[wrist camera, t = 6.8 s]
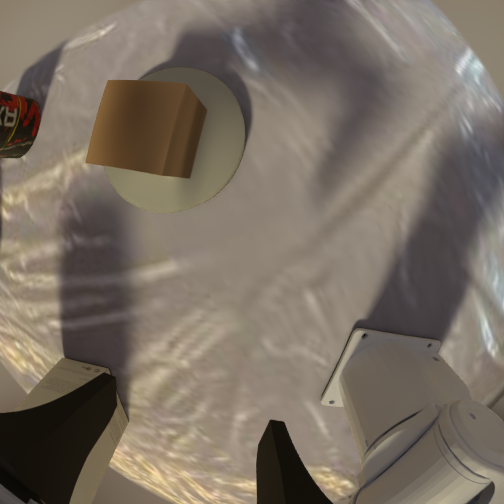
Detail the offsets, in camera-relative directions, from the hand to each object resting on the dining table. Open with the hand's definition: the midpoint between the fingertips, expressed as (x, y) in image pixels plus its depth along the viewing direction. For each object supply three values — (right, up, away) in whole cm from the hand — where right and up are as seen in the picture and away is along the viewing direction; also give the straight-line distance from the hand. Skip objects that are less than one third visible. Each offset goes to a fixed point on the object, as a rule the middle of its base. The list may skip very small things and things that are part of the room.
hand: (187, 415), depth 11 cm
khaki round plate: (-3, +15, +7) cm, 17 cm away
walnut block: (-3, +14, +6) cm, 16 cm away
